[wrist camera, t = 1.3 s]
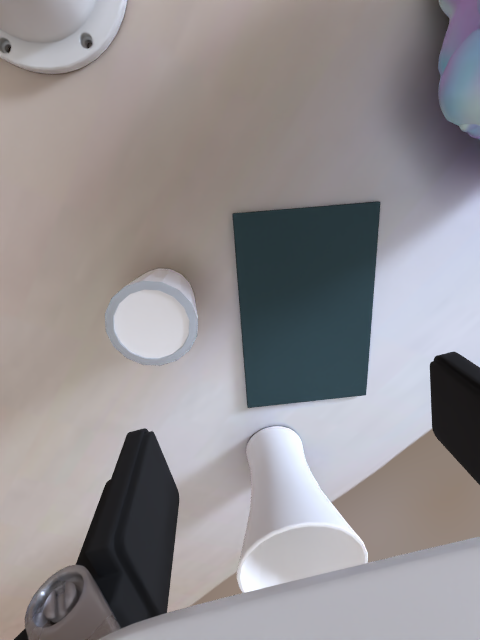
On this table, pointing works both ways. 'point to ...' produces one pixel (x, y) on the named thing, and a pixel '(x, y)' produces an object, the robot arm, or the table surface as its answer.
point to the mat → (306, 300)
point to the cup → (290, 518)
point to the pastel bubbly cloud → (461, 65)
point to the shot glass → (153, 318)
